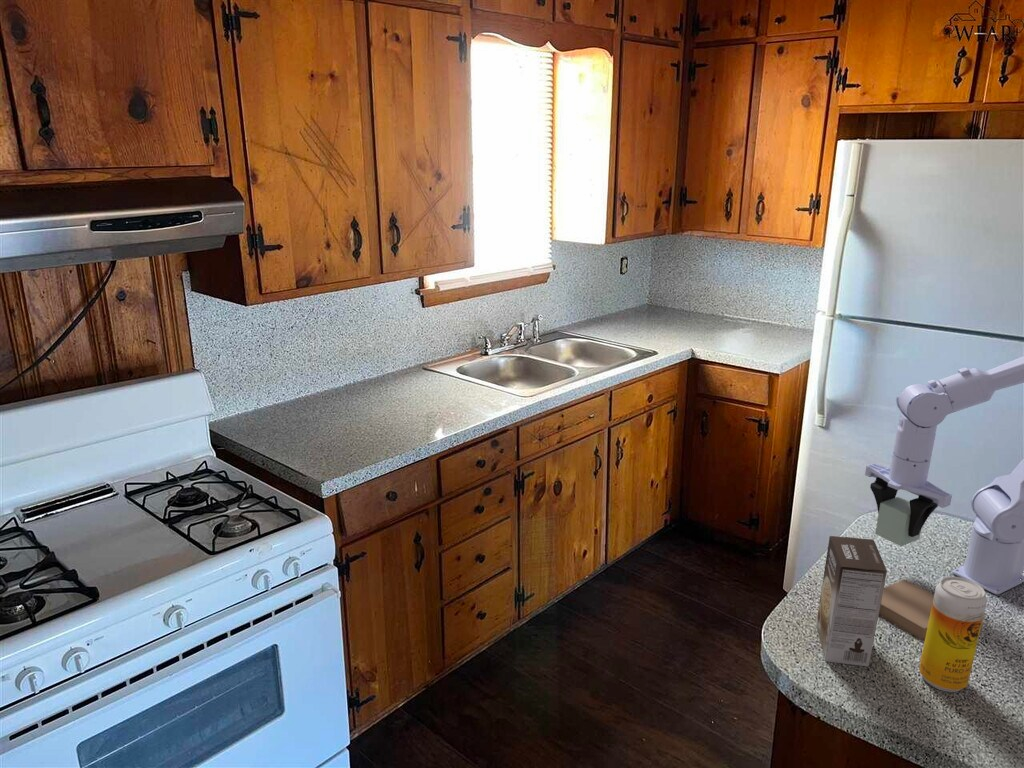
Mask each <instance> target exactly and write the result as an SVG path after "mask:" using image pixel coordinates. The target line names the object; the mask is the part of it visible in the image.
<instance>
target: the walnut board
mask: <svg viewBox="0 0 1024 768" xmlns="http://www.w3.org/2000/svg"><path fill="white" fill-rule="evenodd" d="M934 594H935V593H934ZM934 594H933V593H932V592H930V591H928V590H926V589H924V588H922V587H920V586H919V585H916V584H915V583H912V582H911V581H909V580H907V579H905V578H903V579H902V580H899V581H897V582H895V583H893V584H890V585H887V586H884V590H883V595H882V601H881V605H880V611H879V616H880V617H882V618H883V619H885V620H887V621H888V622H890V623H891V624H894V625H895V626H897V627H898V628H901V629H902V630H904V631H906V632H907V633H909V634H911V635H913V636H915V637H916V638H917V639H919V640H921V641H923V640H925V637H926V632H927V628H928V623H929V618H930V613H931V608H932V603H933V599H934Z"/></svg>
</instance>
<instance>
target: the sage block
mask: <svg viewBox="0 0 1024 768" xmlns="http://www.w3.org/2000/svg"><path fill="white" fill-rule="evenodd" d="M909 502H910V500H908V499H905V498H903V497H901V496H896V497H895V498H893V499H890V500H887V501H884V502H881V503H880V508H879V514H878V513H877V514H878V515H877V519H876V520H877V521H876V526H875V531H874V532H875V533H874V534H875V535H877V536H878V537H881V538H883V539H885V540H887V541H888V542H889V541H890V542H891V543H893V544H895V545H898V546H900V547H903V546H907V545H909V544H912V543H913V542H916V541H918V540H920V538H921V537H920V536H921V532H922V530H921V531H920V533H919V535H916V536H914V537H911V536H908V529H909V524H910V516H911V511H910V503H909Z"/></svg>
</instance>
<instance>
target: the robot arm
mask: <svg viewBox="0 0 1024 768" xmlns="http://www.w3.org/2000/svg"><path fill="white" fill-rule="evenodd" d="M957 371H958V373H955V374H952V375H949V376H946V377H943V378H940V379H937V380H935V379H931V380H928V381H927V384H923V383H922V384H921V383H915V384H911V385H908V386H906V387H905V388H904V390H903V391H902V390H901V392H900V393H899V396H897V397H896V399H895V401H896V406H897V408H898V410H899V411H900V414H899V419H898V425H897V427H896V428H897V429H896V435H895V439H894V445H893V452H892V457H891V464H890V467H887V466H886V467H885V466H882V465H879V464H876V463H874V462H873V463H870V464H867V465H866V466H865V471H864V472H865V473H864V476H866V477H868V478H875V480H874V482H871V483H870V486H869V487H870V490H871V491H872V494H873V496H874V499H875V502H876V503H875V504H876V508H877V514H879V508H880V503H881V502H884V501H887V500H890V499H893V498H896V497H897V493H898V491H899V490H902V491H905V492H908V493H911V494H912V495H916V496H918V497H916V498H913V499H910V500H909V501H910V502H909V503H910V511H911V516H910V524H909V529H908V536H911V537H914V536H916V535H919V533H920V531H921V532H922V528H923V527H924V525H925V523H926V522H927V520H928V518H929V517H930V516H931V514H932V513H933V512H934V511H935V509H937V508H938V507H939V508H941V509H944V508H947V507H949V506H951V502H952V496H953V495H952V494H950V493H948V492H946V491H945V490H943V489H941V488H939V487H938V486H936V485H935V484H933V483H931V482H930V481H928V476H929V470H930V467H931V462H932V461H931V460H932V455H933V449H934V444H935V441H936V440H935V439H936V435H937V429H938V428H937V427H938V425H940V424H941V423H942V422H943V421H944V420H945V419H946V418H947V416H948V415H952V414H953V413H956V412H960V411H961V410H963V411H964V410H965V409H968V408H972V407H974V406H977V405H980V404H983V403H987V402H989V401H991V399H992V397H993V395H994V393H995V392H997V391H1000V390H1003V389H1007V388H1010V387H1015V386H1017V385H1020V384H1024V355H1023V356H1021V357H1018V358H1016V359H1013V360H1011V361H1008V362H1006V363H1003V364H1000V365H999V366H996V367H994V368H991V369H988V370H981V369H979V368H975V367H972V368H968V367H967V366H966V367H965V366H964V367H962V368H959V369H957ZM970 506H971V510H972V511H973V513H974V514H975V518H974V519H975V520H974V522H973V524H972V529H971V534H970V539H969V543H968V548H967V552H966V557H965V560H964V564H963V565H961V566H959V567H957V568H955V569H952V570H951V573H952V574H953V575H955V576H956V577H960V578H964V579H967V580H970V581H973V582H975V583H977V584H978V585H980V586H981V587H982V588H983V589H984V590H986V591H988V592H989V593H992V594H994V595H1001V594H1002V593H1004V592H1006V591H1009V590H1010V589H1013V588H1015V587H1017V586H1019V585H1022V582H1023V583H1024V575H1023V573H1024V458H1023V459H1021V460H1020V461H1019V463H1018V464H1017V466H1016V467H1014V469H1013V470H1012V472H1010V474H1005V475H1000V476H997V477H995V478H994V479H993V480H992V481H991V483H989V484H988V485H986V486H983V487H982V488H980V489H978V490H977V491H976V492H975V493H974V494H973V495H972V498H971V500H970ZM920 534H921V533H920ZM1020 579H1021V580H1020Z"/></svg>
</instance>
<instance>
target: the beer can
mask: <svg viewBox="0 0 1024 768" xmlns="http://www.w3.org/2000/svg"><path fill="white" fill-rule="evenodd" d="M986 596H987V595H986V591H985V589H984V588H982V587H981V586H980V585H978V584H977V583H975V582H973V581H970V580H967V579H964V578H961V577H959V576H946V577H943V578H942V579H940V582H939V583H938V584H937V585H935V590H934V599H933V603H932V608H931V613H930V618H929V623H928V628H927V632H926V637H925V639H924V643H923V647H922V654H921V657H920V663H919V668H918V669H919V672H920V675H921V676H922V678H923V680H924V681H925V682H926V683H927V684H929V685H930V686H931V687H933V688H934V689H937V690H939V691H943V692H947V693H957V692H959V691H961V690H963V689H965V688H966V687H968V685H969V681H970V678H971V677H970V675H971V672H972V668H973V664H974V660H975V655H976V650H977V646H978V642H979V637H980V634H981V630H982V625H983V620H984V616H985V611H986V608H987V603H988V599H987V597H986Z"/></svg>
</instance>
